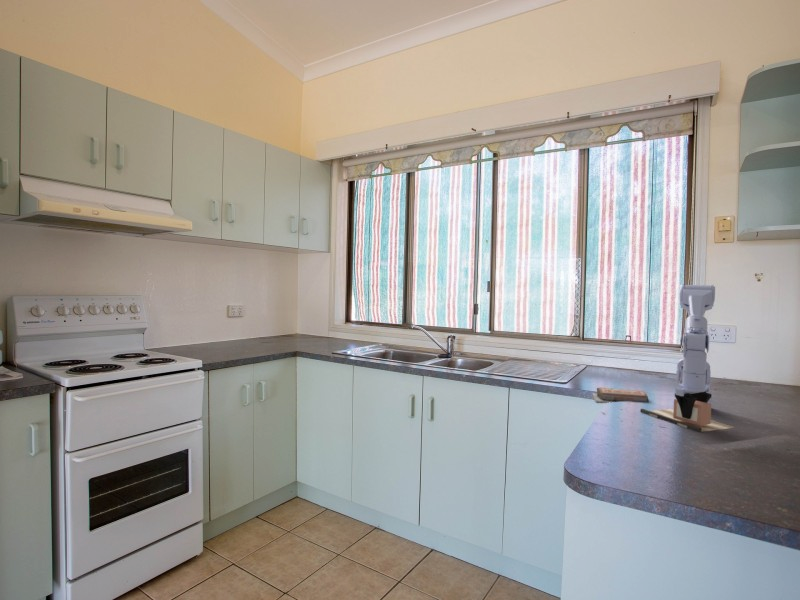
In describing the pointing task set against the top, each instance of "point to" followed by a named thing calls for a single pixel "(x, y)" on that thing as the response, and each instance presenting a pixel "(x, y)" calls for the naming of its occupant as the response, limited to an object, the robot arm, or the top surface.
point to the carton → (695, 413)
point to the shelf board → (668, 416)
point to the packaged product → (618, 395)
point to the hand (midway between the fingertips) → (692, 416)
